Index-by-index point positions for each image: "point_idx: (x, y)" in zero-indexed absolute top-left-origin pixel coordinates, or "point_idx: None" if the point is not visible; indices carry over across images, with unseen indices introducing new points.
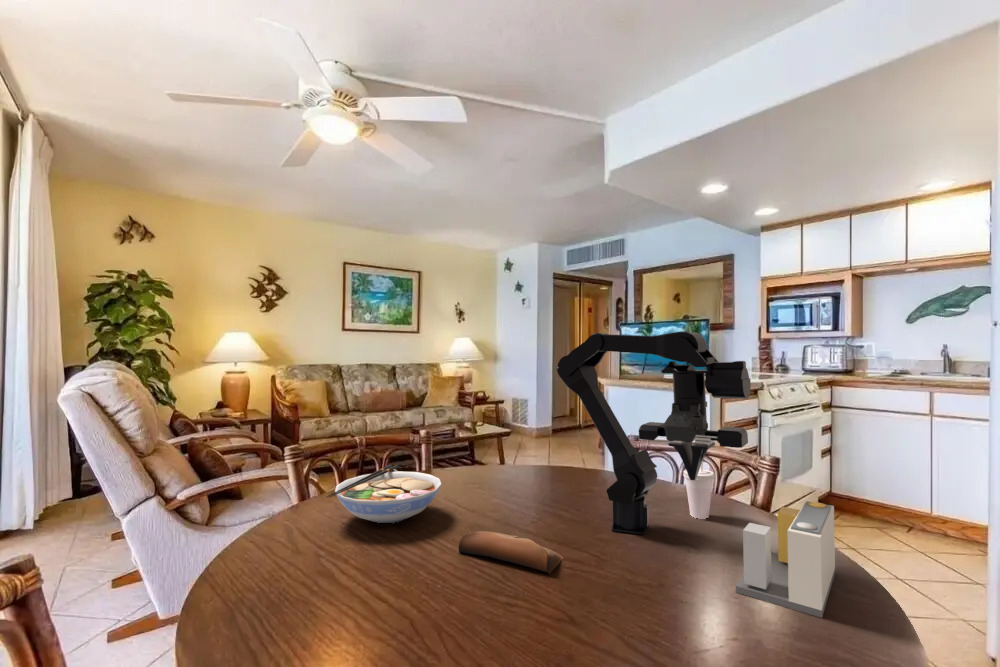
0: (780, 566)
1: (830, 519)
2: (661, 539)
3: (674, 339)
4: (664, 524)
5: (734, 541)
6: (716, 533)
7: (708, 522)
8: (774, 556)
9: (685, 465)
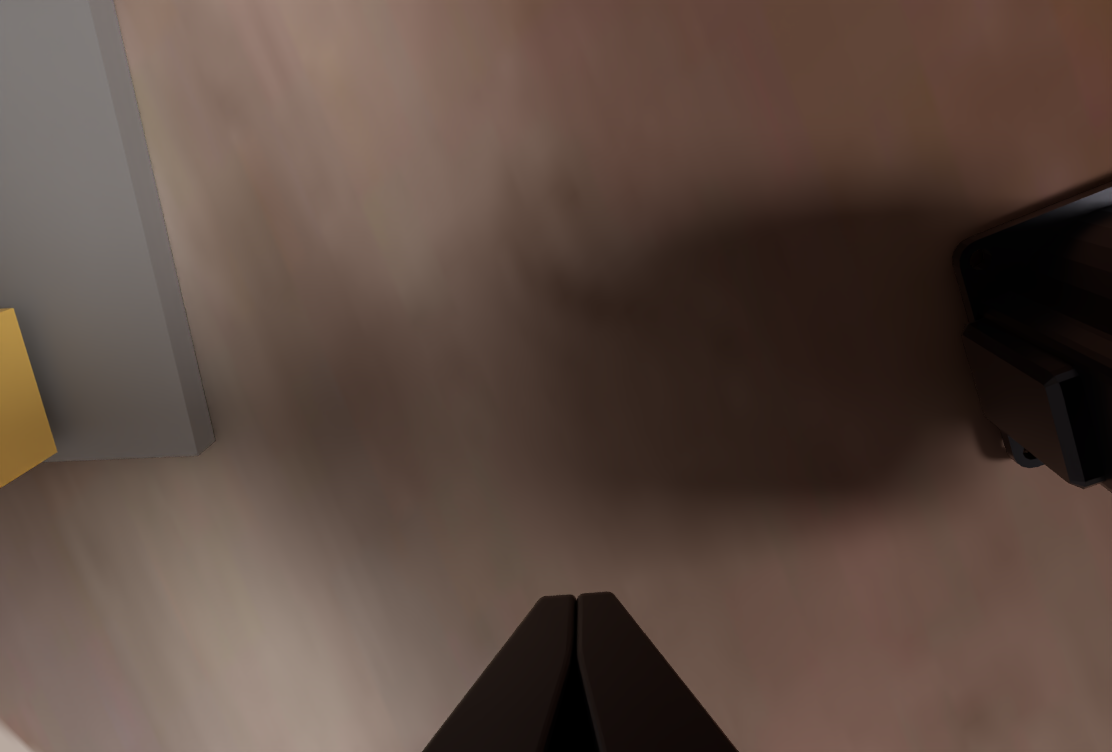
0: (2, 271)
1: None
2: (809, 267)
3: None
4: (888, 544)
5: (415, 548)
6: None
7: None
8: (96, 402)
9: (694, 728)
